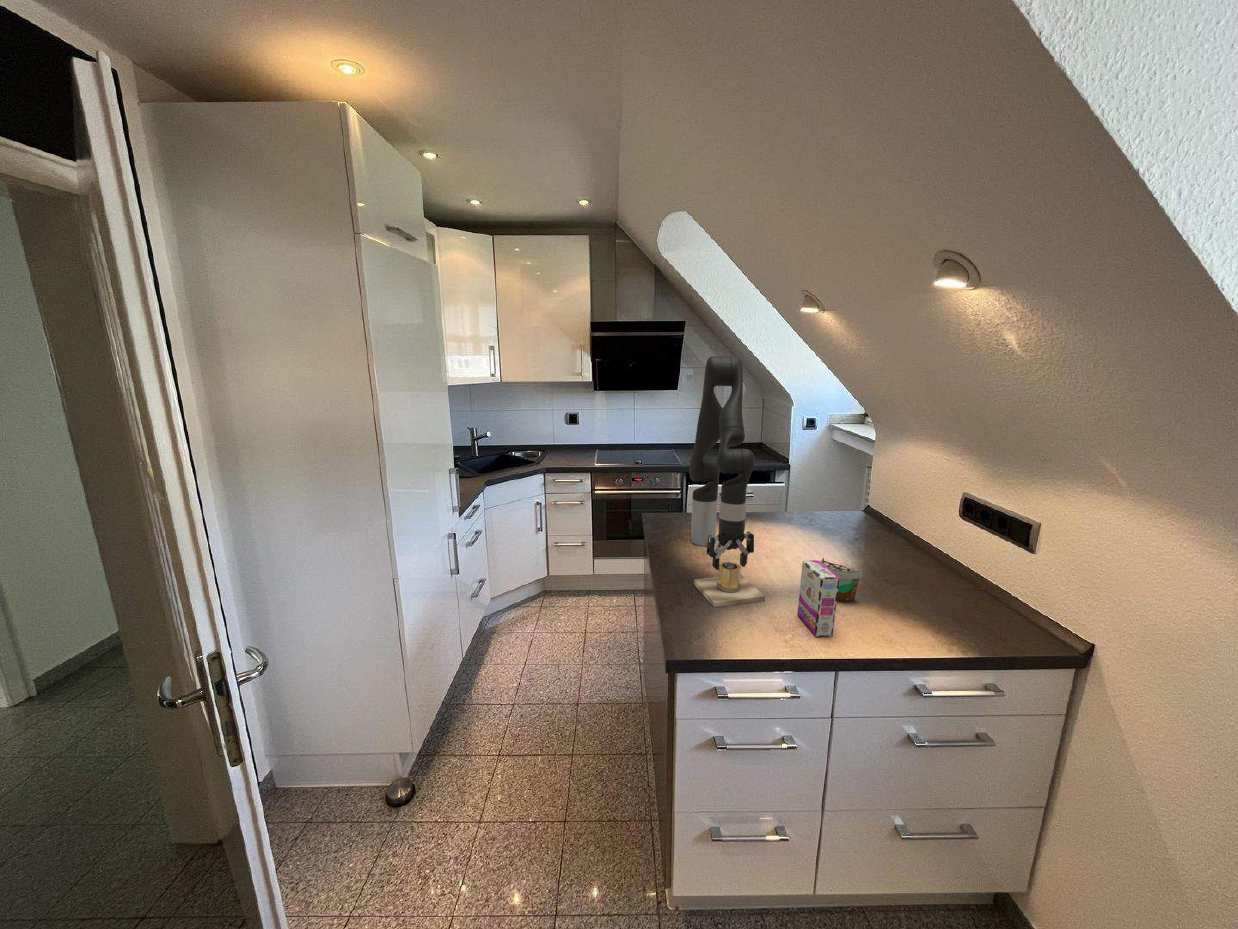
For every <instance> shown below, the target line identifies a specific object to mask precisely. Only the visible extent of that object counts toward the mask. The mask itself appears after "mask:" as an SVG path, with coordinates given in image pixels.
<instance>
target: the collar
mask: <svg viewBox="0 0 1238 929" xmlns="http://www.w3.org/2000/svg"><path fill="white" fill-rule="evenodd" d="M728 562H729V561H722V562H720V563H719V570H718V575H717V577H718V584H719V585H720V587H722V588H725V589H737V588H738V587H739V586H740V574H741V572H742V571H741V567H742V566H741V565H740V564H738V563H737V562H734V561H733V562H731V561H730V562H731V563H733V564H734V566H735V569H726V568H724V565H725V564H726V563H728Z"/></svg>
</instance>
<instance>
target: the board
mask: <svg viewBox="0 0 1238 929" xmlns="http://www.w3.org/2000/svg"><path fill="white" fill-rule="evenodd" d="M717 582H718V576H714V577H706V578H697V579H696V578H695V579H693V585H694V586H695V587H696V589H697V590H699V592H700V593H701V594H702V595H703V596H704V597H705V599H706V600H707V601H708V602H709V604H711V606H712V607H713V608H720V607H728V606H729V607H730V606H736V605H745V604H751V603H753V604H754V603H760V602H765V601H766V595H764V594H763V593H762V592H761V591H760V590H759V589H758V588H756V587H755V585H753V584H752V583H751V582H750V581H749V579H747V578H745V576H743V575H742V574H741V573H740V591H738V592H736V593H725V592H722V591H720V590H718V589H717Z"/></svg>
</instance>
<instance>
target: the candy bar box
mask: <svg viewBox="0 0 1238 929" xmlns="http://www.w3.org/2000/svg"><path fill="white" fill-rule="evenodd" d="M800 574H801V575H800V587H799V593H798V594H799V595H798V605H797V616H798V618H799V619H800V620H801V622H802V623H803V624H804V625H805V626H806V627H807V629H808V630H809V631H810V632H811V634H813V635H814V637H815V638H830V637H834V628H835V618H836V610H837V595H838V586H839V579H840V578H839V577H838V576H836V575H835V574H834V573H833V572H832V571H831V570H829V569H828V568H827V567H826V566H825V565H824V564H822V563H821V560H802V566H801V573H800Z"/></svg>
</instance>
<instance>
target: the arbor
mask: <svg viewBox="0 0 1238 929" xmlns="http://www.w3.org/2000/svg"><path fill="white" fill-rule="evenodd" d="M727 562H728V563H726V564H725V565H724V568H726V569H735V566H734V564H733V563H734V562H733V563H731V561H727ZM717 589H718V590H720V591H722V592H725V593H736V592H738V591H740V586H739V587H738V588H737V589H725V588H722V587H720V585H719V584H718V582H717Z"/></svg>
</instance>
